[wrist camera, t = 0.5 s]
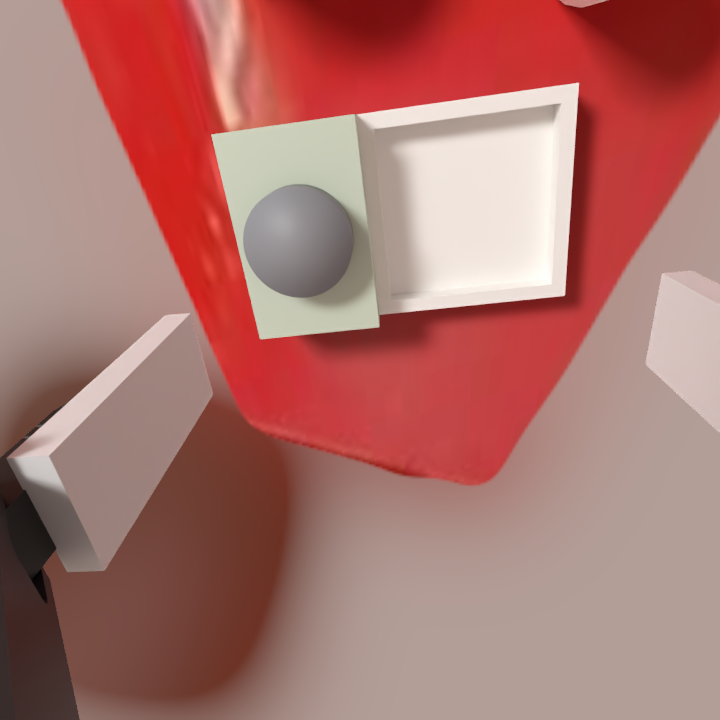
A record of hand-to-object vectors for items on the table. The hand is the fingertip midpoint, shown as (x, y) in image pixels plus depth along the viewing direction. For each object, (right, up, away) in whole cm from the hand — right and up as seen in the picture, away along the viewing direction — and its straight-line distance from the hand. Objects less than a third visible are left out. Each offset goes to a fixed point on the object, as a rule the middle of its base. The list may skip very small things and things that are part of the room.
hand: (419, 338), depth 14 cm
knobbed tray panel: (+1, +10, +22) cm, 25 cm away
